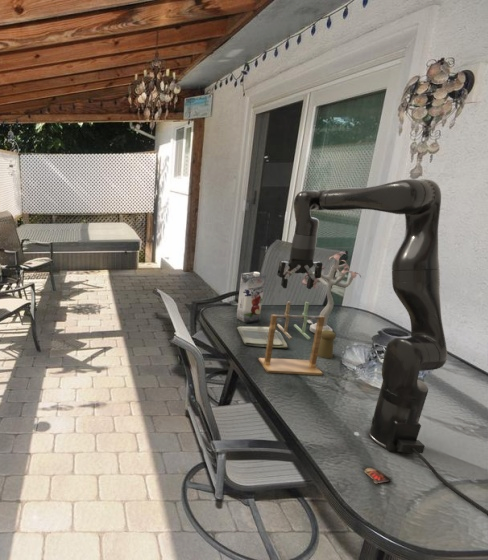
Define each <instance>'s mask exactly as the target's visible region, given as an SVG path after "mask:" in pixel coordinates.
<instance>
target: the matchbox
mask: <svg viewBox="0 0 488 560" xmlns="http://www.w3.org/2000/svg"><path fill="white" fill-rule="evenodd" d="M363 471H364V473H365V474H367V476H368V477H370V479H372V482H373V483H374V484H376V485H378V483H379V484H381V483H386V482H389V481H391V480H392V478H390V477H389V476H388V475H387V474H385V473H384V472H382V471H380V470H378V469H374V468H372V467H367V468H365V470H363Z"/></svg>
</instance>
